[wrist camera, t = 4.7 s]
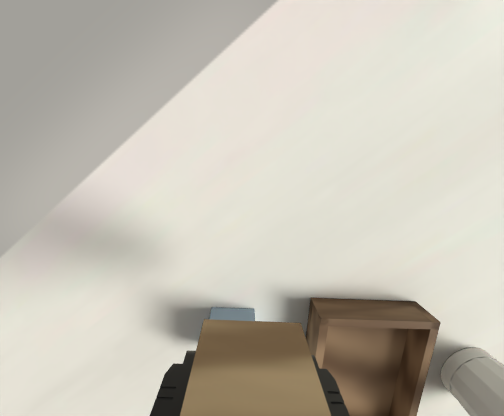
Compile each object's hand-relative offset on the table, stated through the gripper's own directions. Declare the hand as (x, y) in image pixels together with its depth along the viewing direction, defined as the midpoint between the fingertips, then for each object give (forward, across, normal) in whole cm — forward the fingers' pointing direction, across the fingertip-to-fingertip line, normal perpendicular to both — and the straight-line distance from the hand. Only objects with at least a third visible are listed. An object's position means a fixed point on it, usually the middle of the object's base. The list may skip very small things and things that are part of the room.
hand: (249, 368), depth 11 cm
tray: (+13, -13, +12) cm, 22 cm away
